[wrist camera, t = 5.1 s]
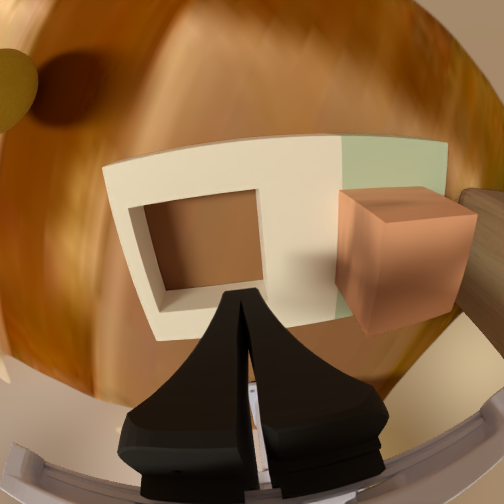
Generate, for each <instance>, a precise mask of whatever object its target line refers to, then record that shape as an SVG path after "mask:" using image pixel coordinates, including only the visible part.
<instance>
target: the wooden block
mask: <svg viewBox="0 0 504 504" xmlns="http://www.w3.org/2000/svg"><path fill="white" fill-rule="evenodd" d="M459 204H460V205H462V206H464V207H466V208H467V209H469V210H471V211H473V212H475V213H477V214H478V216H477V221H476V226H475V231H474V236H473V241H472V245H471V249H470V253H469V257H468V261H467V264H466V268H465V271H464V275H463V278H462V281H461V284H460V288H459V291H458V294H457V296H456V299H455V303H456V304H457V305H458V306H459V307H460V308H461V310H462V311H463V312H464V313H465V314H466V315H467V316H468V317H469V318H470V319H471V320H472V322H473V323H474V324H475V325H476V326H477V327H478V328H479V329H480V331H481V332H482V333H483V334H484V335H485V336H486V338H487V339H488V340H489V341H490V342H491V344H492V345H493V346H494V347H495V348H496V350H497V351H498V352H499V353H500V355H501V356H502V357H503V359H504V192H501V191H494V190H485V189H476V188H470V189H465V190H463V192H462V194H461V196H460V202H459Z"/></svg>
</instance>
